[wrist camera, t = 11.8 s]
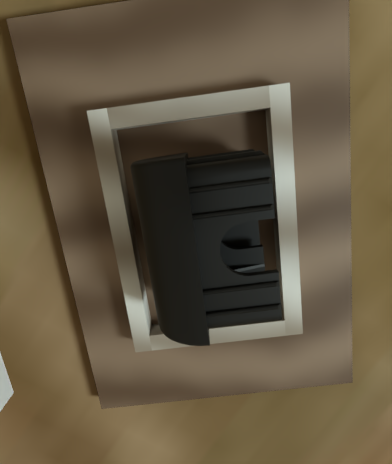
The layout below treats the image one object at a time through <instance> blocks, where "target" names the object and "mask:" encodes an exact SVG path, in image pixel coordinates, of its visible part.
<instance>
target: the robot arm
mask: <svg viewBox="0 0 392 464" xmlns="http://www.w3.org/2000/svg"><path fill="white" fill-rule="evenodd" d="M13 393H14V392H13V389H12V386H11V383H10V380H9V377H8V374H7V371H6V368H5V365H4V362H3V359H2V356H1V353H0V411H1V410H2V408H3V407H4V405H5V404H6V403H7V401H8V400H9V398H10V397H11V396H12V394H13Z"/></svg>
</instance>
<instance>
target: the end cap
mask: <svg viewBox="0 0 392 464" xmlns="http://www.w3.org/2000/svg"><path fill="white" fill-rule="evenodd" d="M130 168H131V174H132V180H133V185H134V191H135V196H136V202H137V207H138V213H139V218H140V224H141V230H142V235H143V241H144V246H145V252H146V257H147V263H148V269H149V274H150V280H151V285H152V291H153V296H154V302H155V307H156V313H157V319H158V324H159V327H160V330H161V332H162V333H163V334H164V335H165V336H166V337H167V338H169V339H171V340H172V341H175V342H178V343H180V344H185V345H190V346H210V336H209V329H210V328H218V327H227V326H236V325H245V324H253V323H262V322H271V321H280V320H282V308H281V295H280V281H279V272H278V270H277V269H275V270H267V271H265V264H264V252H263V246H262V245H260V236H259V224H258V220H265V219H273V218H275V211H274V197H273V183H272V169H271V162H270V158H269V156H268V155H266V154H264V153H263V152H262V151H260V150H257V151H255V150H254V149H249V150H242V151H234V152H227V153H219V154H212V155H204V156H197V157H189V158H188V153H180V154H173V155H167V156H160V157H154V158H148V159H143V160H138V161H135V162H133V163H132V164H131V166H130Z"/></svg>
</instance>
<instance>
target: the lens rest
mask: <svg viewBox="0 0 392 464" xmlns="http://www.w3.org/2000/svg"><path fill="white" fill-rule="evenodd" d="M6 20H7V24H8V28H9V32H10V36H11V40H12V44H13V48H14V52H15V56H16V61H17V65H18V69H19V73H20V77H21V81H22V85H23V89H24V93H25V97H26V101H27V105H28V110H29V114H30V118H31V122H32V126H33V130H34V134H35V138H36V142H37V146H38V150H39V154H40V159H41V163H42V167H43V171H44V175H45V179H46V183H47V187H48V191H49V195H50V199H51V203H52V208H53V212H54V216H55V220H56V224H57V228H58V232H59V236H60V240H61V244H62V248H63V252H64V257H65V261H66V265H67V269H68V273H69V277H70V281H71V285H72V289H73V293H74V297H75V301H76V306H77V310H78V314H79V318H80V322H81V326H82V330H83V334H84V338H85V342H86V346H87V350H88V355H89V359H90V363H91V367H92V371H93V375H94V379H95V383H96V387H97V391H98V395H99V399H100V404H101V408H102V409H105V408H115V407H124V406H134V405H143V404H153V403H162V402H172V401H181V400H191V399H200V398H210V397H219V396H229V395H238V394H248V393H257V392H267V391H276V390H286V389H295V388H305V387H314V386H324V385H333V384H343V383H352V277H351V166H350V56H349V0H128V1H122V2H115V3H109V4H102V5H95V6H89V7H82V8H75V9H69V10H62V11H56V12H49V13H42V14H36V15H29V16H22V17H16V18H9V19H6ZM249 149H254V150H255V151H257V150H260V151H262V152H263V153H264V154H266V155H268V156H269V158H270V162H271V169H272V183H273V197H274V211H275V218H273V219H265V220H258V224H259V236H260V245H262V246H263V252H264V264H265V271H267V270H275V269H277V270H278V272H279V281H280V295H281V308H282V320H280V321H271V322H262V323H253V324H245V325H236V326H227V327H218V328H210V329H209V336H210V346H190V345H185V344H180V343H178V342H175V341H172V340H171V339H169V338H167V337H166V336H165V335H164V334H163V333H162V332H161V330H160V327H159V324H158V319H157V313H156V307H155V302H154V296H153V291H152V285H151V280H150V274H149V269H148V263H147V257H146V252H145V246H144V241H143V235H142V230H141V224H140V218H139V213H138V207H137V202H136V196H135V191H134V185H133V180H132V174H131V168H130V166H131V164H132V163H133V162H135V161H138V160H143V159H148V158H154V157H160V156H167V155H173V154H180V153H188V158H189V157H197V156H204V155H212V154H219V153H227V152H234V151H242V150H249Z"/></svg>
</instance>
